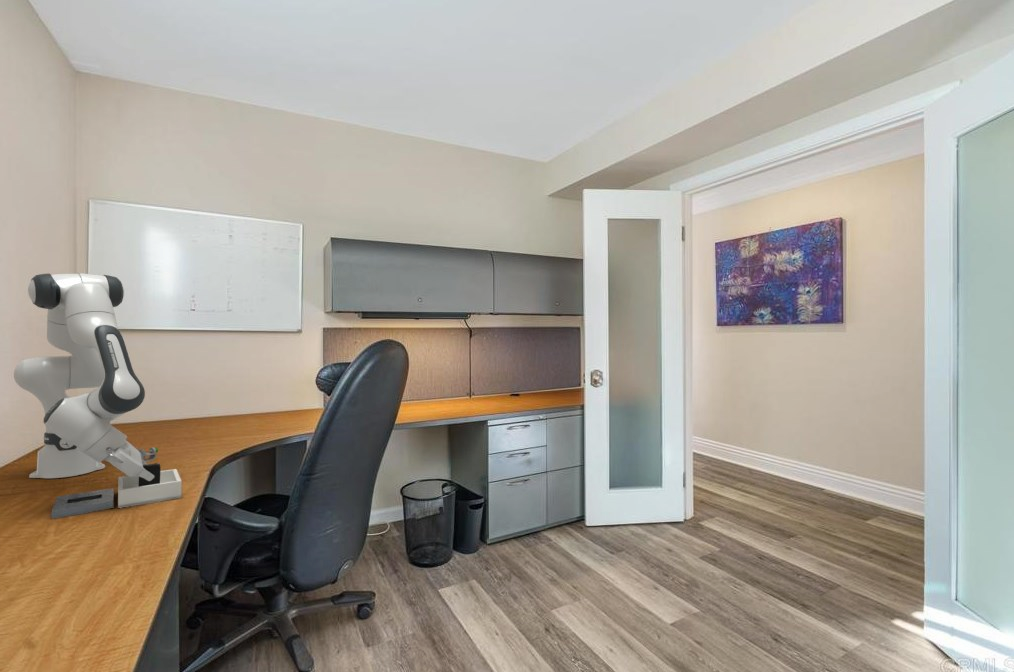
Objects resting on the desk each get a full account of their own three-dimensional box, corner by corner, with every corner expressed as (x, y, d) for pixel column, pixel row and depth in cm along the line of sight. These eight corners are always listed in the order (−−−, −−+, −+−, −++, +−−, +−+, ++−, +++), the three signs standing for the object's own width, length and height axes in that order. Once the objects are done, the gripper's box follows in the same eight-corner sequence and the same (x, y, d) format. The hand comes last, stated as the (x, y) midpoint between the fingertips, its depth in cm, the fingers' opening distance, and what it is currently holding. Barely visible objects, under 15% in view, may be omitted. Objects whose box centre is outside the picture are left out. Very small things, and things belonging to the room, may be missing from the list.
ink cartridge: (159, 490, 142) (160, 462, 142) (159, 491, 140) (160, 464, 140) (138, 492, 139) (139, 464, 139) (138, 494, 137) (139, 466, 137)
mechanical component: (159, 478, 156) (159, 447, 156) (122, 487, 147) (122, 454, 147) (153, 477, 157) (153, 446, 157) (117, 486, 148) (117, 453, 148)
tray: (118, 493, 141) (118, 476, 141) (176, 484, 150) (176, 468, 150) (118, 508, 129) (118, 490, 129) (181, 497, 137) (181, 481, 137)
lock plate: (57, 503, 132) (57, 496, 132) (113, 494, 140) (113, 488, 140) (51, 519, 121) (51, 511, 121) (113, 508, 129) (113, 501, 129)
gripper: (117, 443, 127) (163, 473, 133) (118, 430, 143) (158, 458, 149) (95, 462, 124) (143, 493, 130) (98, 448, 140) (140, 476, 146)
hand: (151, 474), depth 140 cm, fingers open, 8 cm apart
